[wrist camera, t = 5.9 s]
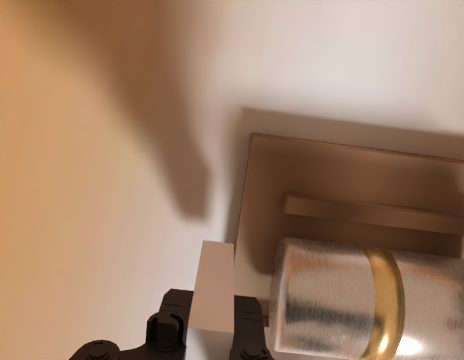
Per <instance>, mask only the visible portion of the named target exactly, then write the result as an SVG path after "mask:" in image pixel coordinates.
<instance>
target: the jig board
mask: <svg viewBox="0 0 464 360" xmlns="http://www.w3.org/2000/svg"><path fill="white" fill-rule="evenodd" d="M282 237H291V238H299V239H307V240H315V241H323V242H332V243H340V244H348V245H353V244H357V245H365V246H373V247H381V248H384V249H389V250H397V251H405V252H413V253H421V254H430V255H438V256H446V257H454V258H462V259H464V161H462V160H454V159H446V158H439V157H431V156H423V155H416V154H408V153H401V152H393V151H385V150H378V149H370V148H363V147H355V146H347V145H340V144H332V143H324V142H317V141H309V140H302V139H294V138H286V137H279V136H271V135H264V134H256V133H252V135H251V142H250V149H249V156H248V163H247V169H246V176H245V183H244V190H243V197H242V204H241V211H240V217H239V224H238V231H237V238H236V245H235V252H234V295H240V296H249V297H256V299H257V300H258V301H259V303H260V304H261V307H262V315H263V323H264V332H265V340H266V347H267V349H268V350H269V351H270V353H271V356H272V357H273V358H274V359H275V360H349V359H341V358H332V357H323V356H314V355H305V354H296V353H287V352H278V351H274V349H273V347H272V344H271V340H270V332H269V295H270V284H271V275H272V268H273V263H274V258H275V254H276V250H277V247H278V244H279V242H280V240H281V238H282Z"/></svg>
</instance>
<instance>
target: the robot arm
mask: <svg viewBox="0 0 464 360" xmlns="http://www.w3.org/2000/svg"><path fill="white" fill-rule="evenodd" d="M69 360H275V359H274V358H273V357H272V356H271V353H270V351H269V350H268V349H267V347H266V340H265V332H264V323H263V315H262V307H261V304H260V303H259V301H258V300H257V299H256V297H249V296H240V295H234V244H231V243H222V242H213V241H205V240H203V244H202V250H201V255H200V261H199V266H198V272H197V277H196V283H195V288H194V291H188V290H179V289H170V290H169V291H168V292H167V293H166V294H165V295H164V297H163V300H162V303H161V306H160V309H159V312H158V313H155V314H154V315H152V316H150V318H149V319H148V321H147V330H146V343H145V344H143V345H142V346H140V347H138V348H135V349H130V350H124V351H120V349H119V347H118V346H117V345H116V344H115V343H113V342H111V341H107V340H96V341H92V342H89V343H87V344H85V345H83V346H82V347H81V348H79V349H78V350H77V351H76V353H75V354H74V355H73V356H72V357H71V358H70V359H69Z"/></svg>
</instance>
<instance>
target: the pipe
mask: <svg viewBox="0 0 464 360" xmlns="http://www.w3.org/2000/svg"><path fill="white" fill-rule="evenodd" d="M269 332H270V340H271V344H272V347H273V349H274V351H278V352H287V353H296V354H305V355H314V356H323V357H332V358H341V359H349V360H464V259H462V258H454V257H446V256H438V255H430V254H421V253H413V252H405V251H397V250H389V249H384V248H381V247H373V246H365V245H357V244H353V245H348V244H340V243H332V242H323V241H315V240H307V239H299V238H291V237H282V238H281V240H280V242H279V244H278V247H277V250H276V254H275V258H274V263H273V268H272V275H271V284H270V295H269Z"/></svg>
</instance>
